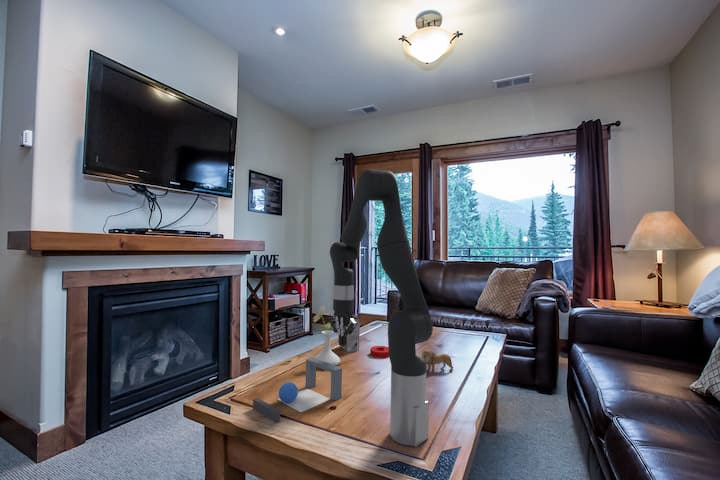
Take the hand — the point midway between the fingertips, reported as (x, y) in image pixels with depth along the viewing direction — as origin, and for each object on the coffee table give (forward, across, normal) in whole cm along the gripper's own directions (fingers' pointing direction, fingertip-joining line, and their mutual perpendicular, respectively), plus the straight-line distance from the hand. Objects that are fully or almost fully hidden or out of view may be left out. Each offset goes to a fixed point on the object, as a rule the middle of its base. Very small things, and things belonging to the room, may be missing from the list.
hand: (342, 345), depth 122 cm
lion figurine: (+14, +18, +37) cm, 43 cm away
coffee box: (+14, -28, +33) cm, 46 cm away
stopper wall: (+14, 0, -31) cm, 34 cm away
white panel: (+14, 0, -17) cm, 22 cm away
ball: (+11, -2, -22) cm, 24 cm away
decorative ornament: (+14, -12, +37) cm, 42 cm away
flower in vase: (+14, -19, +9) cm, 25 cm away
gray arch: (+14, 0, -9) cm, 17 cm away
